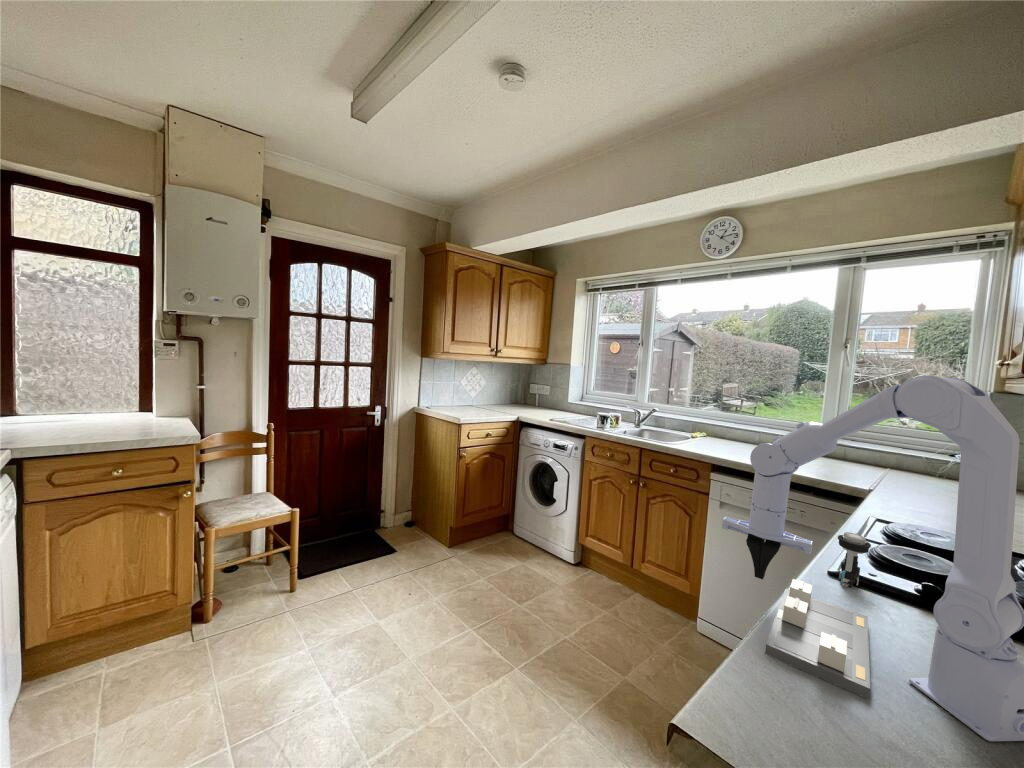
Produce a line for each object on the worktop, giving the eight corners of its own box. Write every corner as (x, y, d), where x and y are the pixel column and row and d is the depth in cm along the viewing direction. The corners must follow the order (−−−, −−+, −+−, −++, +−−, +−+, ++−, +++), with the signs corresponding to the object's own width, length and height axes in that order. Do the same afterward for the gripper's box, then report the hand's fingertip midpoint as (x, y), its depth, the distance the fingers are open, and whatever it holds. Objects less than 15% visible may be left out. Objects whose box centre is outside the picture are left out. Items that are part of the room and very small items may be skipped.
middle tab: (804, 628, 68) (806, 611, 68) (782, 619, 70) (784, 603, 70) (806, 617, 71) (808, 601, 71) (785, 609, 73) (787, 594, 73)
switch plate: (868, 699, 56) (870, 688, 56) (764, 653, 64) (765, 643, 64) (866, 625, 73) (867, 616, 73) (784, 595, 81) (785, 587, 81)
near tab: (843, 672, 58) (846, 653, 58) (817, 661, 60) (819, 642, 60) (844, 657, 62) (847, 639, 61) (819, 647, 63) (821, 629, 63)
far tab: (808, 607, 74) (810, 592, 74) (788, 600, 76) (790, 585, 76) (810, 598, 77) (812, 583, 77) (791, 591, 79) (793, 577, 79)
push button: (859, 594, 83) (866, 545, 83) (827, 582, 87) (833, 535, 87) (867, 584, 88) (874, 538, 87) (836, 573, 92) (842, 528, 91)
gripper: (817, 513, 78) (807, 583, 79) (731, 492, 87) (723, 555, 88) (814, 523, 73) (803, 599, 74) (722, 499, 82) (714, 567, 83)
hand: (759, 576), depth 81 cm, fingers closed
